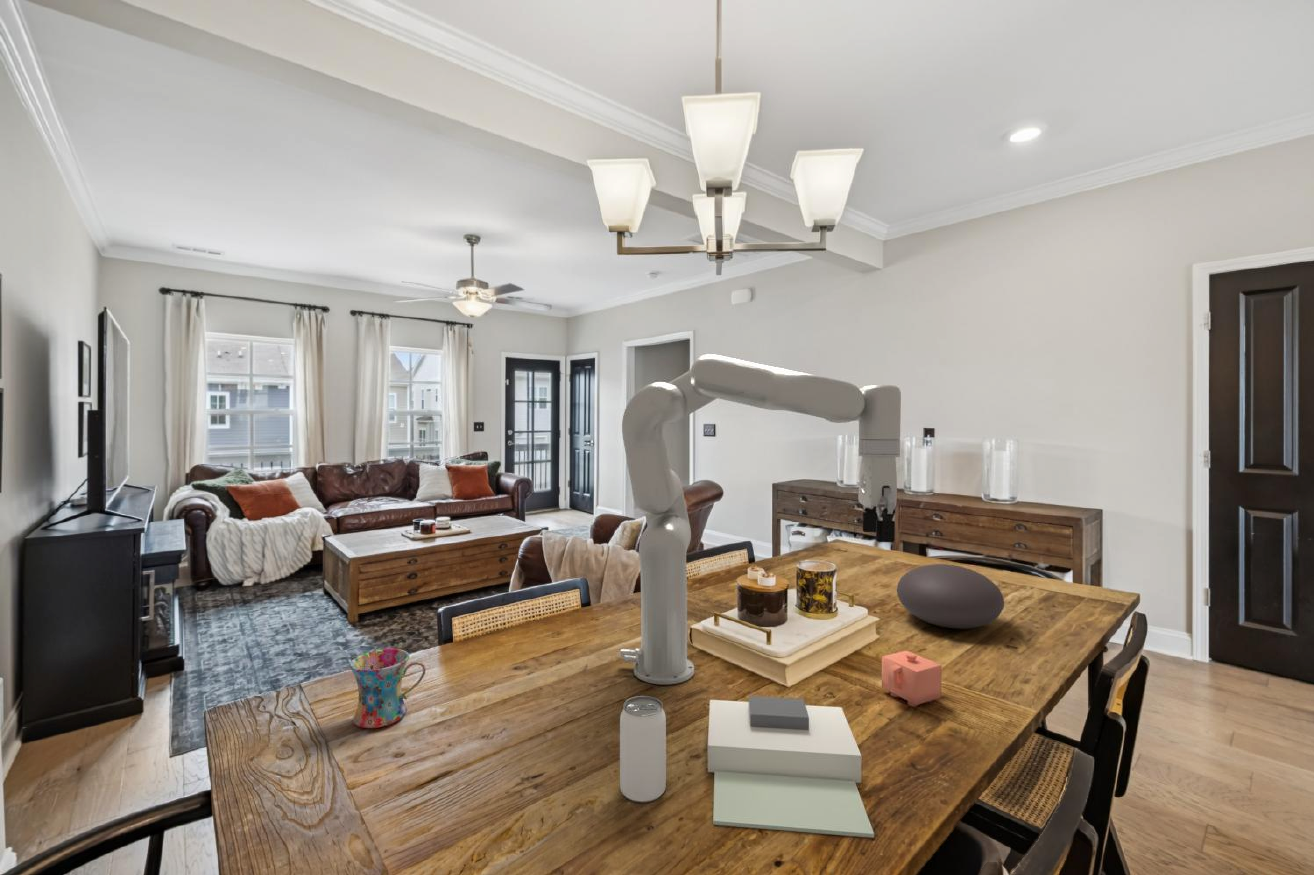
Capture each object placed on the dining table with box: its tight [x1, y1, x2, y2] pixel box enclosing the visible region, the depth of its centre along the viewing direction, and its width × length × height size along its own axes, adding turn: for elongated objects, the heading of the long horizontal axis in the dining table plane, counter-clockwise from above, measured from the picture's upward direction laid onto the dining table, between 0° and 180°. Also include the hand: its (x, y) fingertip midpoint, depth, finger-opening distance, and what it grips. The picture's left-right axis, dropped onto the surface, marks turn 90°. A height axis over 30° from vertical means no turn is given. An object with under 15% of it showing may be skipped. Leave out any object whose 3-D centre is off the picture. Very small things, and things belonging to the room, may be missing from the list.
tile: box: [748, 695, 809, 730], centre depth 92 cm, size 9×6×2 cm, turn 83°
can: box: [619, 695, 667, 804], centre depth 80 cm, size 6×6×12 cm
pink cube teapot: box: [881, 650, 943, 708], centre depth 108 cm, size 8×12×8 cm, turn 116°
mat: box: [712, 771, 875, 839], centre depth 77 cm, size 20×10×1 cm, turn 83°
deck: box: [707, 699, 862, 784], centre depth 90 cm, size 22×14×4 cm, turn 83°
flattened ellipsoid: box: [896, 563, 1005, 630], centre depth 147 cm, size 25×25×15 cm
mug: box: [349, 648, 427, 729], centre depth 100 cm, size 12×9×11 cm
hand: (877, 536), depth 111 cm, fingers open, 9 cm apart
